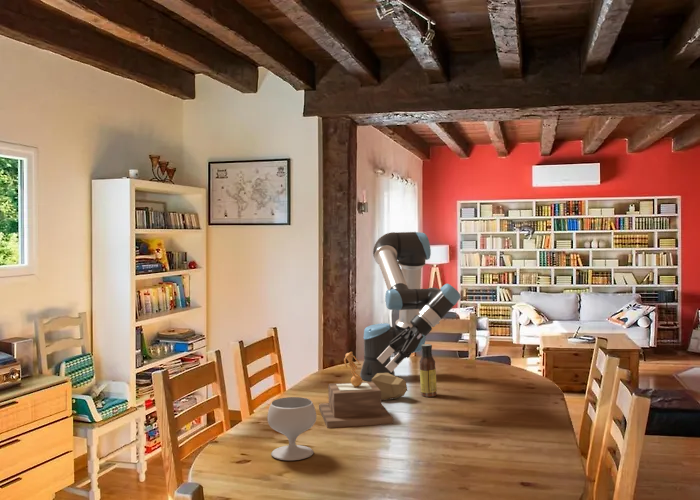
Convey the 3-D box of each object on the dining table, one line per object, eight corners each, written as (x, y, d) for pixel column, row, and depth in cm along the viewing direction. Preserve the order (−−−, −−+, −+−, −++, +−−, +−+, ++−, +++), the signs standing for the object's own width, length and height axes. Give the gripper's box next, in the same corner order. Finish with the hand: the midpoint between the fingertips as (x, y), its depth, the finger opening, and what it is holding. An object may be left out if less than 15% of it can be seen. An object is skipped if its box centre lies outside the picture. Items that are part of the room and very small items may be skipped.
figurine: (355, 390, 209) (354, 354, 208) (340, 388, 212) (339, 353, 211) (367, 384, 216) (366, 350, 215) (353, 382, 219) (352, 348, 218)
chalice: (292, 442, 187) (291, 393, 187) (326, 452, 178) (326, 401, 178) (257, 455, 176) (256, 403, 176) (292, 467, 167) (291, 412, 167)
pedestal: (319, 409, 223) (318, 380, 222) (378, 405, 226) (378, 377, 226) (327, 427, 201) (326, 396, 201) (392, 423, 205) (392, 392, 204)
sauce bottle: (436, 393, 243) (436, 343, 242) (437, 397, 237) (436, 346, 236) (419, 393, 243) (419, 343, 243) (419, 397, 237) (419, 346, 237)
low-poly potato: (363, 398, 237) (370, 391, 227) (368, 371, 243) (375, 363, 232) (400, 408, 239) (409, 401, 229) (404, 381, 244) (413, 373, 234)
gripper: (443, 333, 205) (400, 380, 203) (422, 323, 230) (383, 365, 228) (428, 318, 204) (384, 365, 202) (408, 309, 229) (369, 351, 227)
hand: (383, 365), depth 215 cm, fingers open, 13 cm apart
